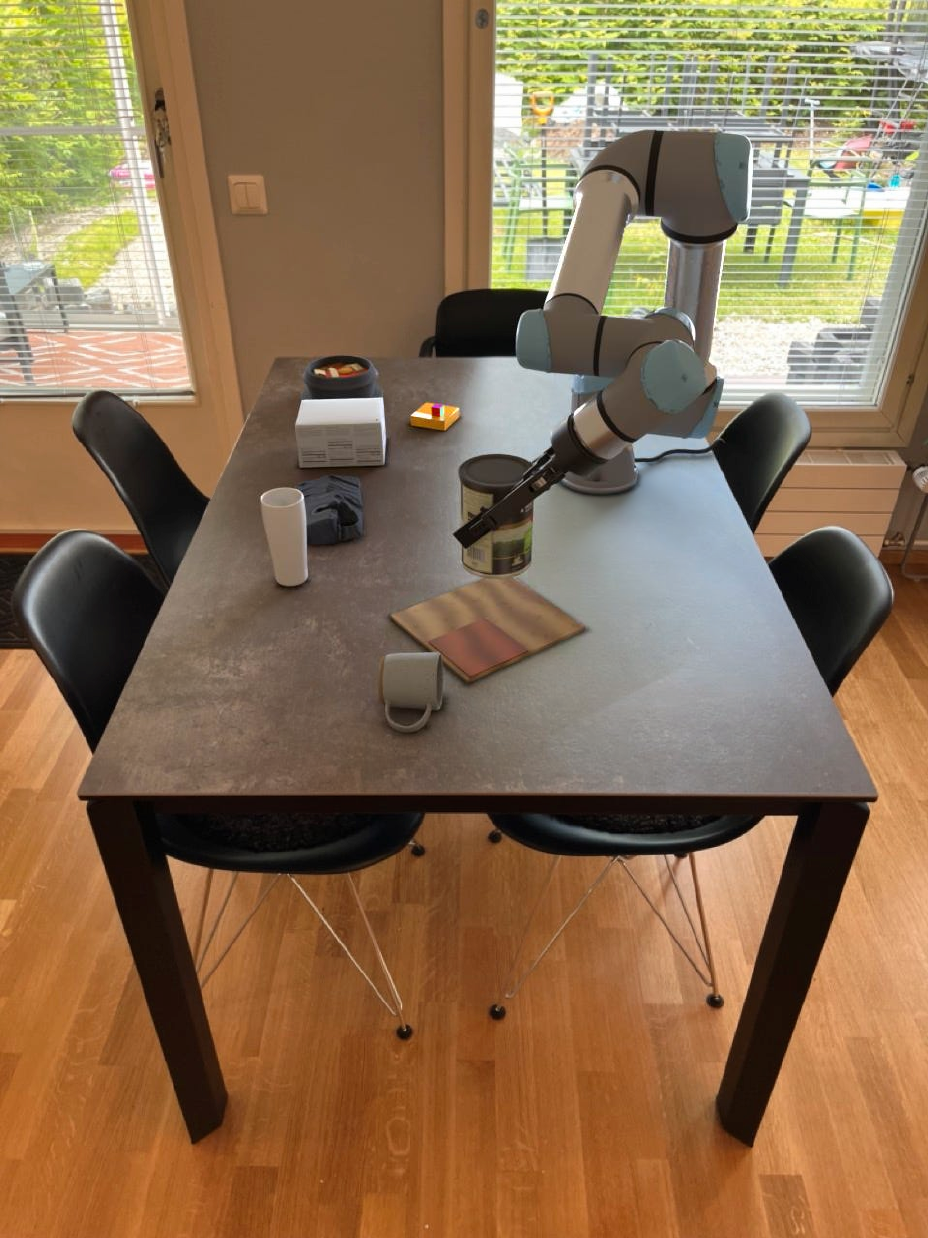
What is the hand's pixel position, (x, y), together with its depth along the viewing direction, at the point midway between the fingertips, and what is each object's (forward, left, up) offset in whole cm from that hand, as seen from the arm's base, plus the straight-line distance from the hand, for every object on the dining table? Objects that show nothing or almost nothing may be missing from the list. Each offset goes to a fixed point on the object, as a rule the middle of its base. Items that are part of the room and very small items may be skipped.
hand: (475, 522), depth 135 cm
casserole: (-29, -90, -19) cm, 97 cm away
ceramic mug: (+17, +9, -19) cm, 27 cm away
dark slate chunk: (0, -46, -19) cm, 50 cm away
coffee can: (-2, +3, -6) cm, 6 cm away
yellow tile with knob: (-40, -69, -19) cm, 82 cm away
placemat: (-3, -1, -19) cm, 19 cm away
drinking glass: (+15, -30, -19) cm, 39 cm away
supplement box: (-16, -66, -19) cm, 71 cm away
